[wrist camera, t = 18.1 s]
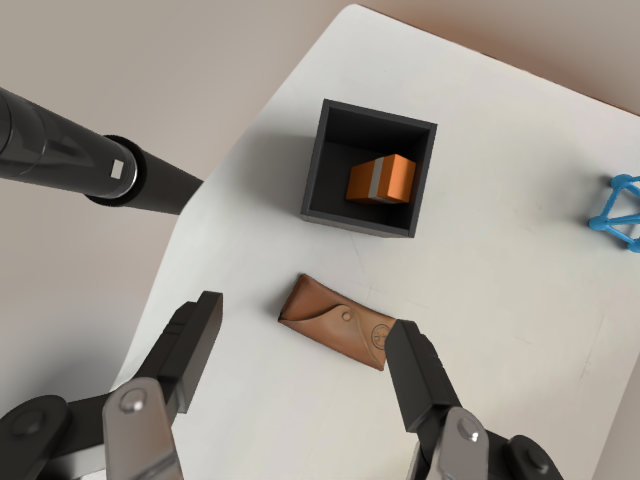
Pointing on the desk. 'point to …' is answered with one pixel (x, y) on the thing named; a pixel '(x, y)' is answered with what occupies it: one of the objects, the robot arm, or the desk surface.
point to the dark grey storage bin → (357, 148)
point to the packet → (381, 181)
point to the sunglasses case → (337, 322)
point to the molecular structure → (604, 222)
